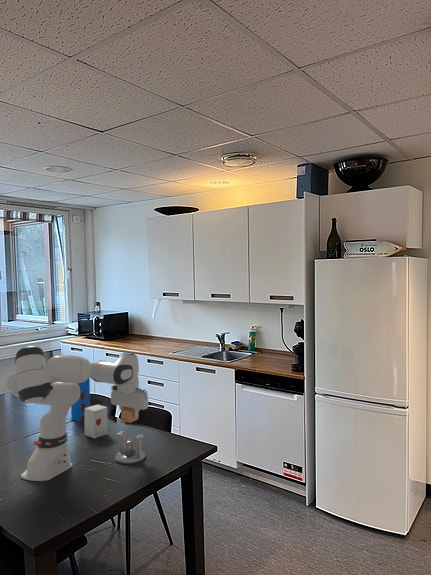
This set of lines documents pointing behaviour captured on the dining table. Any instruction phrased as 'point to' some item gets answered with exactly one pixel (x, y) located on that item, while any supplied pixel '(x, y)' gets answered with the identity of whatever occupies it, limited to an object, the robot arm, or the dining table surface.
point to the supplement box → (96, 421)
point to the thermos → (81, 401)
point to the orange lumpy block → (128, 415)
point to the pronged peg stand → (129, 450)
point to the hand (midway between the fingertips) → (129, 416)
